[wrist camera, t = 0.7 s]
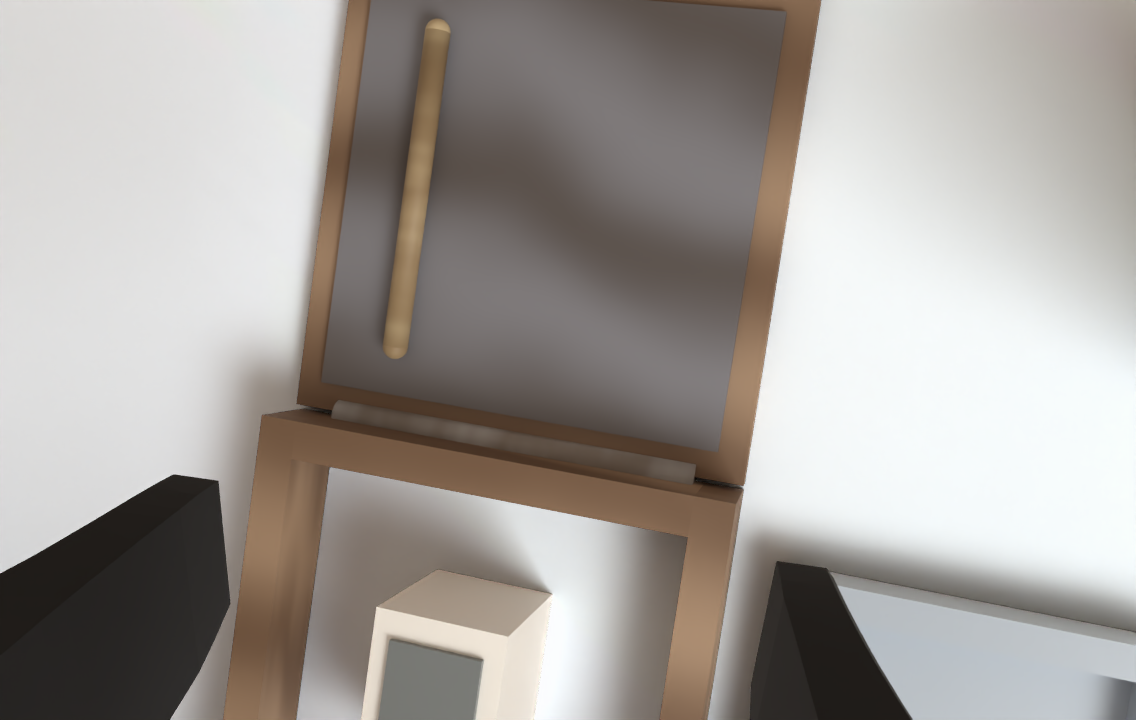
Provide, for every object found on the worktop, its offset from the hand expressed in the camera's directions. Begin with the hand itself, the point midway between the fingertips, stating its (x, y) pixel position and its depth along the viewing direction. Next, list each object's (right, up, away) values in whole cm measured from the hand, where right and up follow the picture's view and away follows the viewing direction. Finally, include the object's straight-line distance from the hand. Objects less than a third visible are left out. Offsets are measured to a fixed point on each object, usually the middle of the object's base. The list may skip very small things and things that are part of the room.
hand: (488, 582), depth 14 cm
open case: (-1, 0, +21) cm, 21 cm away
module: (-2, -7, +22) cm, 23 cm away
